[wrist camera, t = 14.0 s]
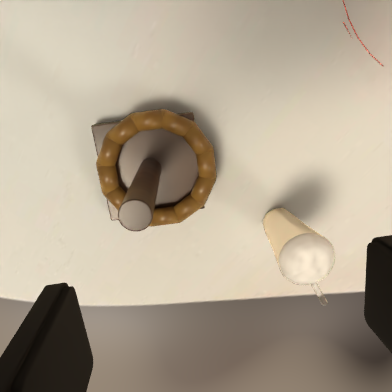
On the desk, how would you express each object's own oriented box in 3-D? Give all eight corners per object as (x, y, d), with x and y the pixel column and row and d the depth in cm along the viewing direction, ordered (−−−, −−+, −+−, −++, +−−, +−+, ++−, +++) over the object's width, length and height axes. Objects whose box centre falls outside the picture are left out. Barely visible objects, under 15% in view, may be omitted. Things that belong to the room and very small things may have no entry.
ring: (112, 228, 32) (109, 234, 31) (88, 118, 29) (84, 119, 28) (219, 213, 32) (221, 219, 31) (207, 102, 29) (209, 103, 28)
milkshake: (264, 254, 36) (297, 314, 26) (250, 210, 34) (280, 256, 25) (305, 240, 35) (353, 296, 26) (293, 195, 34) (339, 236, 24)
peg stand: (113, 215, 33) (75, 293, 21) (94, 124, 31) (36, 148, 18) (203, 203, 34) (220, 273, 21) (192, 111, 31) (204, 126, 18)
